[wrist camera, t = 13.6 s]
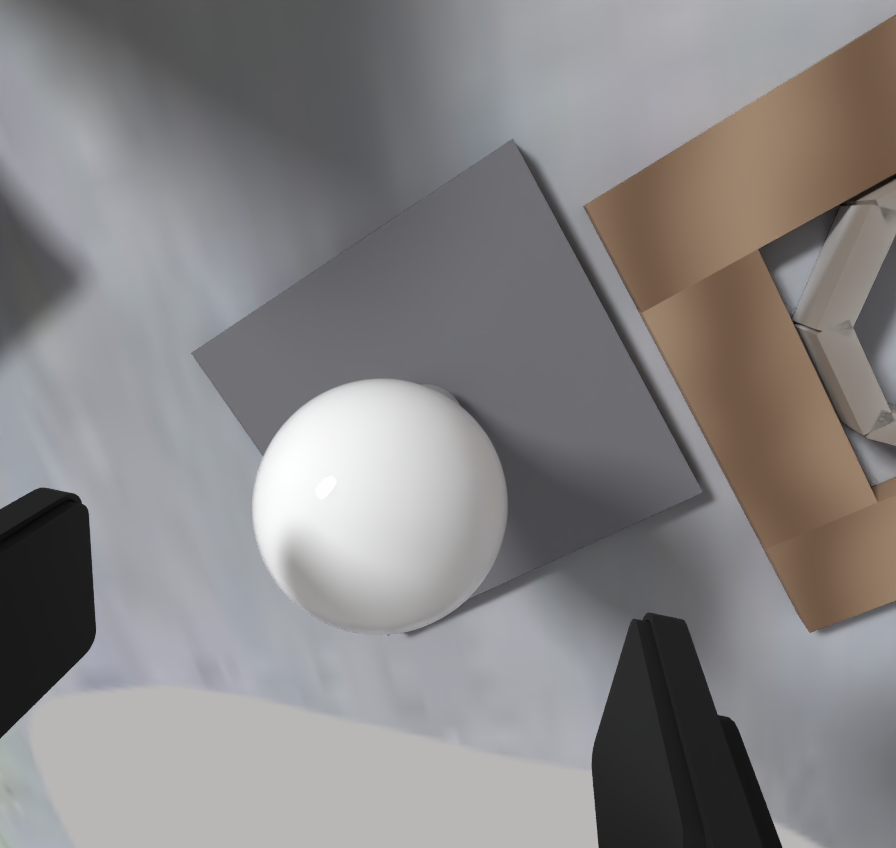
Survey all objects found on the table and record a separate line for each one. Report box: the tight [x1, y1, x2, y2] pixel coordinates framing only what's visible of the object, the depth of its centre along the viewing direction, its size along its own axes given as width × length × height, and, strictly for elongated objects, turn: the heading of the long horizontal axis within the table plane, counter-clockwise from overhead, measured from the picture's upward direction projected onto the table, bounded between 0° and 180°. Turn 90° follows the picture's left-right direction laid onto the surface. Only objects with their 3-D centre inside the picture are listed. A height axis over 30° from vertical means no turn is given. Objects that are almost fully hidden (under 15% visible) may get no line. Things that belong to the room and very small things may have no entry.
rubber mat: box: [191, 139, 703, 636], centre depth 24 cm, size 14×14×1 cm
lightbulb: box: [252, 378, 508, 635], centre depth 18 cm, size 6×6×11 cm
